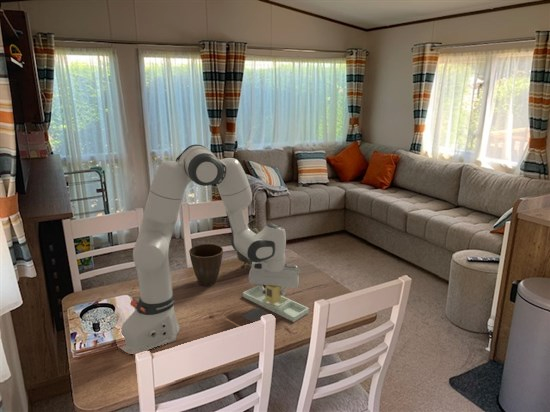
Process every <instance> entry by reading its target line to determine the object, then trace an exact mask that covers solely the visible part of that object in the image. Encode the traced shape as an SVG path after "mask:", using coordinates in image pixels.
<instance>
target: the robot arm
mask: <svg viewBox="0 0 550 412" xmlns="http://www.w3.org/2000/svg"><path fill="white" fill-rule="evenodd" d="M191 182H193V183H194V184H196V185H199V186H201V187H202V186H203V187H204V186H206V187H208V186H213V185H216V187H217V190H218V193H219V196H220V198H221V201H222V203H223V206H224V209H225V213H226V216H227V220H228V222H229V223H228V224H229V226H230V230H231V238H230V243H231V246H232V248H233V250H234V251H236V252H237V251H238V252H239V253H241V254H242V255H244V256H245V257H246V258H248V259H249V260H250V261H252V264H251V267H250V270H249V273H248V279H247V280H248V282H249V284H251V285H259V287H260V288H261V290H262V294H265V292H266V289H264V288H265V287H264V286H266V285H271V286H281V288H283V290H282V289H281V296H284V297H285V293H286V291H287V289H288V288H292V289H293V288H294V289H297V288H298V287H299V283H300V281H299V275H300V274H301V269H300V267H299V266H298V265H297V264H289V263H286V253H285V250H286V248H287V247H286V246H287V236H286V230H285V228H284V227H283V226H281V225H280V224H276V223H267V224H265V226H264V228H263V229H262V230H261V231H260V230H259V231H260V232H259V233H258V234H255V233H254V232H253V231H251V230H250V228H249V227H248V223H247V221H246V217H245V212H244V210H245V209H247V208H248V207H249V206H250V205H251V204H252V201H253V193H252V188H251V185H250V182H249V179H248V176H247V174H246V172H245V170H244V168H243V166H242V164H241V162H240V161H239V160H238V159H236V158H234V157H225V158H222V159H219V158H217V157H216V155H215V154H214V152H212V151H211V150H210V149H209V148H207V147H205V146H204V145H202V144H191V145H189V146H187V147H186V148H185V149H184V150H183V151H182V152H181V153H180V154H179V155H178V156H177V157H176V158H175V161H174V160H165V161H162V162H161V163H160V164H159V165H158V167H157V169H156V172H155V174H154V176H153V178H152V181H151V183H150V187H149V192H148V195H147V200H146V203H145V207H144V210H143V215H142V220H141V224H140V228H139V233H138V235H137V238H136V241H135V242H134V243H135V244H134V246H133V250H132V258H133V259H132V260H133V263H134V265H135V266H134V267H135V271H136V274H137V279H138V286H139V288H138V289H139V297H138V301H136V300H135V299H133V300H131V301H130V306H131V307H132V308H136V309H135V310H134V311H133V312H132V313H131V314H130V316H129V317H128V318H126V319H125V321H124V322H123V323H122V325H121V333H122V335H123V336H124V337H125V343H126V346H123V347H120V348H121V349H122V350H124V351H125V352H128V353H135V354H136V351H137V353H138V352H142V351H146V350H149V349H152V348H154V347H157V346H160V345H162V346H164V344H165V345H168V344H170V343H172V342H175V341H176V340H177V335H178V333H179V331H180V325H179V322H178V319H177V315H176V312H175V296H174V292H173V285H172V284H173V283H172V282H173V281H172V273H171V269H170V260H169V249H170V244H171V239H172V236H173V233H174V229H175V226H176V224H177V220H178V216H179V214H180V209H181V206H182V203H183V199H184V195H185V192H186V189H187V187H188V185H189V184H190V183H191ZM121 333H120V334H121ZM167 343H168V344H167ZM160 347H161V346H160ZM157 348H158V347H157ZM154 349H155V348H154ZM129 350H132V351H129ZM152 350H153V349H152ZM149 351H150V350H149Z"/></svg>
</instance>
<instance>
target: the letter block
mask: <svg viewBox="0 0 550 412" xmlns="http://www.w3.org/2000/svg"><path fill="white" fill-rule="evenodd" d="M265 288H266V292H265V300H266V301H268V302H270V303H272V304H275V303H276V302H278V301H280V300H281V290H282V286H271V285H265Z"/></svg>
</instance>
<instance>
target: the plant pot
mask: <svg viewBox="0 0 550 412" xmlns="http://www.w3.org/2000/svg"><path fill="white" fill-rule="evenodd" d="M223 254H224V248H223V247H222V246H221V245H217V244H213V243H203V244H197V245H195V246H192V247H191V248H190V249H189V257H190V262H191V266H192V268H193V272H194V275H195V277H196V279H197V281H198V283H199V285H201V286H203V287H210V286H213V285H215V284H216V281H217V279H218V276H219V274H220V269H221V265H222V261H223Z"/></svg>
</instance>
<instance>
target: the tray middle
mask: <svg viewBox="0 0 550 412" xmlns="http://www.w3.org/2000/svg"><path fill="white" fill-rule="evenodd" d="M290 300H291V299H290V298H288V297H285V295H284V296H281V300H280V301H278V302H276V303H275V304H272V303H270V302H268V301H266V300H265V297H264V298H262V299H260V300H259V304H258V305H259V306H260V307H262V308H264V309H267V310H269V311H271V312H273V313H274V314H277V313H276V308H278V307H280V306H282V305H283V304H285V303H287V302H288V301H290Z"/></svg>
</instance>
